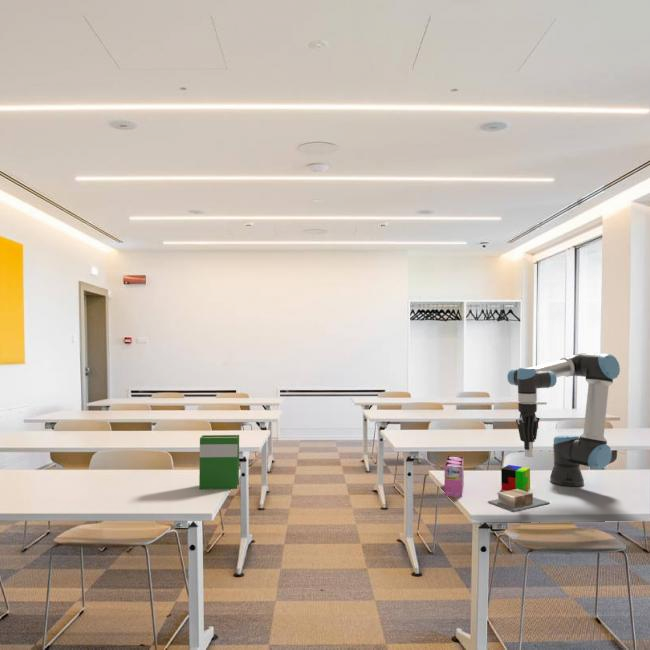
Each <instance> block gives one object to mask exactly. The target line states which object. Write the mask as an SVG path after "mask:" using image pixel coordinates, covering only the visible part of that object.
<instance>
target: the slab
mask: <svg viewBox="0 0 650 650" xmlns="http://www.w3.org/2000/svg"><path fill="white" fill-rule="evenodd" d="M533 497H534V494H533V493H532V492H530V491H527V492H526V491H523V490H520V489H514V490H509V491H505V490H503V491H500V492H498V497H497V499H498V502H500V503H503V504H506V505H508V506H511V507H517V506H521V505H526V504H530V503H533Z"/></svg>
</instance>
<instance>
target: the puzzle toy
mask: <svg viewBox="0 0 650 650" xmlns="http://www.w3.org/2000/svg"><path fill="white" fill-rule="evenodd" d="M500 469H501V472H500V474H501V477H500V478H501V480H500V481H501V491H509V490H514V489H520V490H523V491H527V492H529V489H530V490H531V468H530V467H526V466H519V465H513V464H508V465H505V466H504V467H502V468H500Z"/></svg>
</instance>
